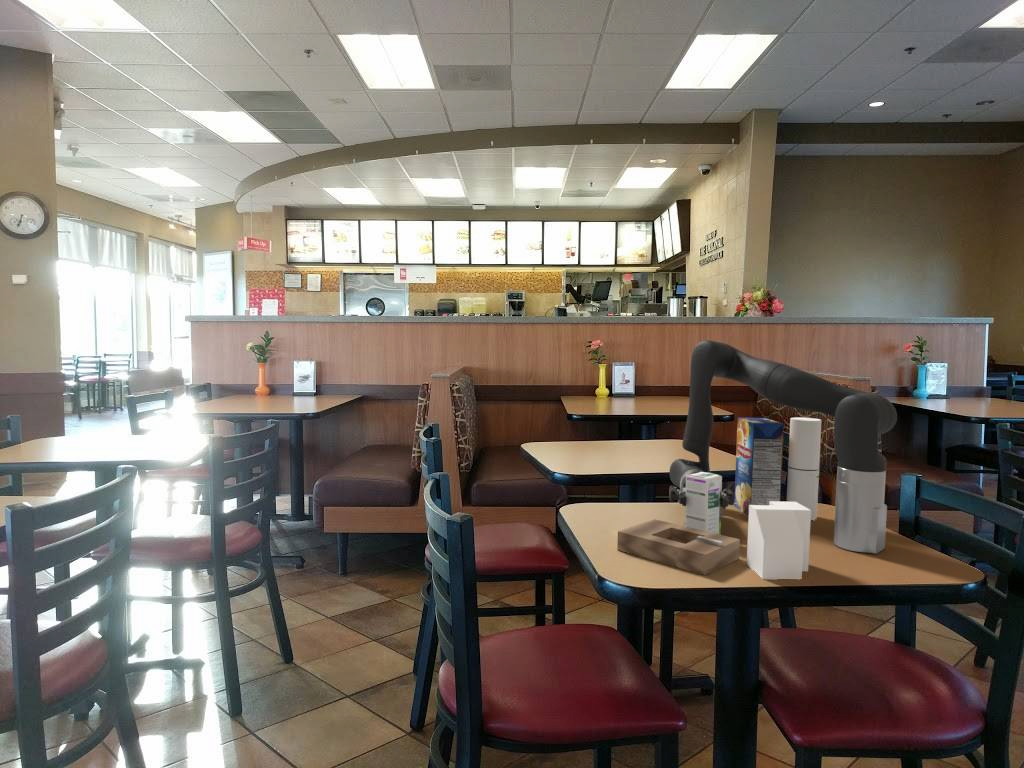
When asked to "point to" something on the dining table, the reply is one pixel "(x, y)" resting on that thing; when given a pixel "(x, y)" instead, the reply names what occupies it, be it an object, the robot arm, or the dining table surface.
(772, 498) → the juice carton
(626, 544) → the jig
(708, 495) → the syrup box
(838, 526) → the robot arm
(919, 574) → the dining table surface
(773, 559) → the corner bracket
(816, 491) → the cylindrical container
